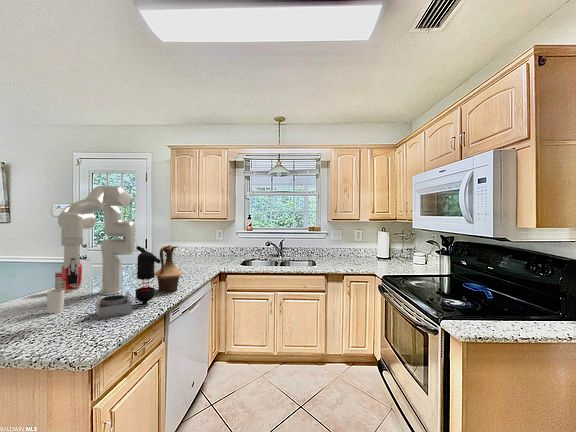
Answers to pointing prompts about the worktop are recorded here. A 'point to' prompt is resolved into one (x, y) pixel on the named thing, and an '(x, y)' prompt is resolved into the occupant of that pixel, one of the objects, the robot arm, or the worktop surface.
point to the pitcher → (168, 271)
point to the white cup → (55, 300)
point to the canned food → (59, 281)
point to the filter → (145, 274)
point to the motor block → (113, 306)
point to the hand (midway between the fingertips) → (72, 281)
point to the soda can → (65, 279)
